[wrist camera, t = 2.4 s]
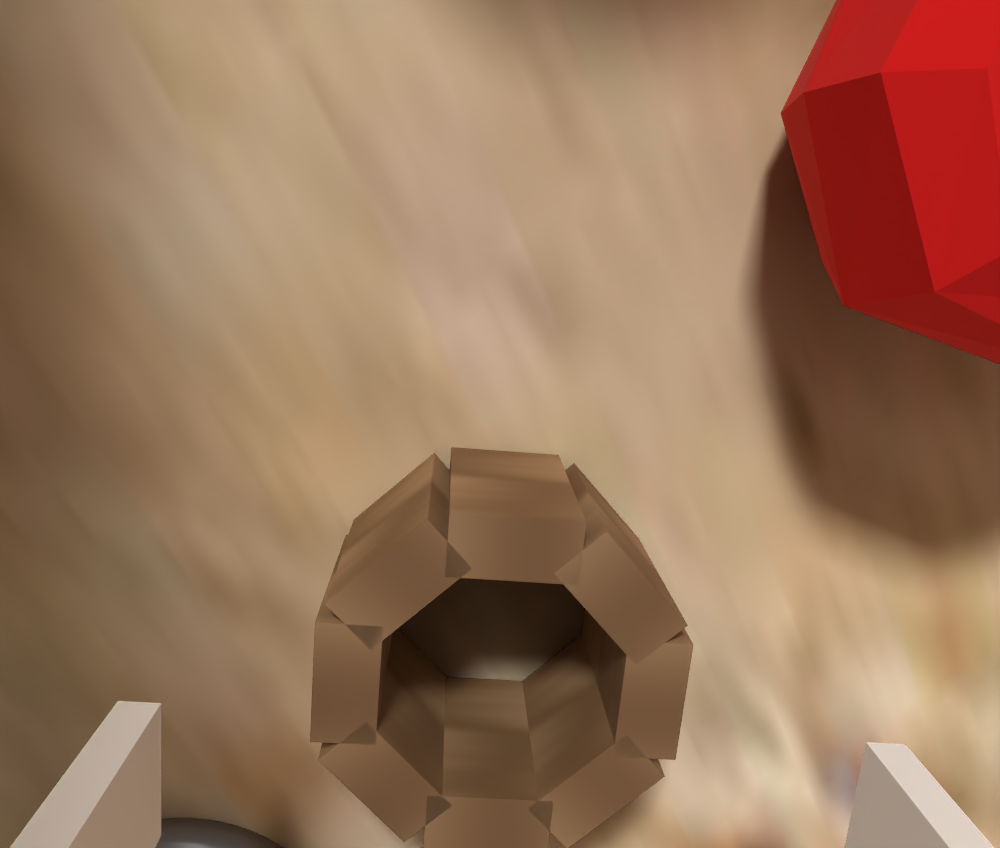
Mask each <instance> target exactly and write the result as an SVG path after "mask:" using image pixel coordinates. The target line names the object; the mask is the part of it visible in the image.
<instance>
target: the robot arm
mask: <svg viewBox="0 0 1000 848" xmlns="http://www.w3.org/2000/svg"><path fill="white" fill-rule="evenodd" d="M160 837H161V703H149V702H131V701H117V703H116V704H115V705H114V707H113V708H112V710H111V711H110V712H109V714H108V715H107V716H106V718H105V719H104V720H103V722H102V723H101V724H100V726H99V727H98V729H97V730H96V731H95V733H94V734H93V735H92V737H91V738H90V739H89V741H88V742H87V743H86V745H85V746H84V748H83V749H82V750H81V752H80V753H79V754H78V756H77V757H76V758H75V760H74V761H73V762H72V764H71V765H70V766H69V768H68V769H67V771H66V772H65V773H64V775H63V776H62V777H61V779H60V780H59V781H58V783H57V784H56V785H55V787H54V788H53V790H52V791H51V792H50V794H49V795H48V796H47V798H46V799H45V800H44V802H43V803H42V804H41V806H40V807H39V809H38V810H37V811H36V813H35V814H34V815H33V817H32V818H31V819H30V821H29V822H28V823H27V825H26V826H25V828H24V829H23V830H22V832H21V833H20V834H19V836H18V837H17V838H16V840H15V841H14V842H13V844H12V845H11V847H10V848H155V847H156V845H157V843H158V841H159V839H160ZM845 848H994V847H993V846H992V845H991V844H990V842H989V841H988V840H987V839H986V838H985V837H984V835H983V834H982V833H981V832H980V831H979V830H978V828H977V827H976V826H975V825H974V824H973V823H972V821H971V820H970V819H969V818H968V817H967V816H966V815H965V813H964V812H963V811H962V810H961V809H960V808H959V806H958V805H957V804H956V803H955V802H954V801H953V799H952V798H951V797H950V796H949V795H948V794H947V792H946V791H945V790H944V789H943V788H942V787H941V785H940V784H939V783H938V782H937V781H936V780H935V779H934V777H933V776H932V775H931V774H930V773H929V772H928V770H927V769H926V768H925V767H924V766H923V765H922V763H921V762H920V761H919V760H918V759H917V758H916V756H915V755H914V754H913V753H912V752H911V751H910V749H909V748H908V747H907V746H906V745H905V744H890V743H872V742H866V745H865V750H864V755H863V760H862V765H861V770H860V774H859V779H858V784H857V789H856V794H855V799H854V804H853V809H852V814H851V819H850V824H849V828H848V833H847V838H846V843H845Z"/></svg>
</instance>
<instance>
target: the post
mask: <svg viewBox="0 0 1000 848" xmlns="http://www.w3.org/2000/svg"><path fill="white" fill-rule="evenodd" d="M155 848H283V847H281V846H280V845H278V844H276V843H275V842H273V841H271V840H270V839H268V838H265V837H263V836H261V835H259V834H257V833H255V832H252V831H250V830H247V829H244V828H241V827H238V826H235V825H231V824H227V823H222V822H217V821H212V820H203V819H193V818H172V819H162V820H161V837H160V839H159V841H158V843H157V845H156V847H155Z"/></svg>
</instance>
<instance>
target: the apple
mask: <svg viewBox="0 0 1000 848" xmlns="http://www.w3.org/2000/svg"><path fill="white" fill-rule="evenodd" d="M781 116H782V119H783V123H784V127H785V130H786V134H787V137H788V141H789V145H790V148H791V152H792V155H793V159H794V163H795V166H796V170H797V174H798V177H799V181H800V184H801V188H802V192H803V195H804V199H805V202H806V206H807V210H808V213H809V217H810V220H811V224H812V228H813V231H814V235H815V239H816V242H817V246H818V249H819V253H820V257H821V260H822V262H823V264H824V266H825V268H826V271H827V273H828V275H829V277H830V279H831V281H832V283H833V285H834V287H835V289H836V291H837V294H838V296H839V298H840V300H841V302H842V304H843V306H846V307H848V308H851V309H854V310H856V311H859V312H862V313H864V314H867V315H870V316H872V317H875V318H878V319H880V320H883V321H886V322H888V323H891V324H894V325H896V326H899V327H902V328H904V329H907V330H910V331H912V332H915V333H918V334H920V335H923V336H926V337H929V338H931V339H934V340H937V341H939V342H942V343H945V344H947V345H950V346H953V347H955V348H958V349H961V350H963V351H966V352H969V353H971V354H974V355H977V356H979V357H982V358H985V359H987V360H990V361H993V362H995V363H998V364H1000V0H836V2H835V4H834V6H833V8H832V10H831V13H830V15H829V17H828V19H827V21H826V23H825V25H824V27H823V29H822V31H821V33H820V35H819V37H818V39H817V41H816V43H815V45H814V47H813V49H812V51H811V53H810V55H809V57H808V59H807V61H806V63H805V65H804V67H803V69H802V71H801V73H800V75H799V77H798V79H797V81H796V83H795V85H794V87H793V89H792V91H791V93H790V95H789V97H788V100H787V102H786V104H785V106H784V108H783V110H782V112H781Z"/></svg>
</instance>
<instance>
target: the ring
mask: <svg viewBox="0 0 1000 848" xmlns="http://www.w3.org/2000/svg"><path fill="white" fill-rule="evenodd" d="M460 578H471V579H487V580H503V581H519V582H535V583H551V584H564V586H565V587H566V588H567V589H568V590H569V591H570V592H571V593H572V594H573V596H574V597H575V598H576V599H577V600H578V601H579V602H580V603H581V604H582V606H583V607H584V608H585V617H584V625H583V633H582V635H581V636H580V637H578V638H577V639H576V640H575V641H573V642H572V643H571V644H569V645H568V646H567V647H566V648H564V649H563V650H562V651H560V652H559V653H558V654H557V655H555V656H554V657H553V658H551V659H550V660H549V661H548V662H546V663H545V664H544V665H542V666H541V667H540V668H539V669H537V670H536V671H535V672H533V673H532V674H531V675H530V676H528V677H527V678H526V679H524V680H523V681H509V680H490V679H472V678H454V677H445V676H444V675H443V674H442V673H441V672H440V671H439V670H438V669H437V668H436V667H435V666H434V665H433V664H432V663H431V661H430V660H429V659H428V658H427V657H426V656H425V655H424V654H423V653H422V652H421V651H420V650H419V649H418V648H417V647H416V646H415V645H414V644H413V643H412V642H411V641H410V640H409V639H408V638H407V637H406V636H405V635H404V634H403V633H402V632H401V631H400V630H399V629H398V628H399V627H400V626H401V625H403V624H404V623H405V622H406V621H408V620H409V619H410V618H411V617H413V616H414V615H415V614H416V613H417V612H419V611H420V610H421V609H422V608H424V607H425V606H426V605H427V604H429V603H430V602H431V601H432V600H434V599H435V598H436V597H437V596H439V595H440V594H441V593H442V592H444V591H445V590H446V589H447V588H449V587H450V586H451V585H452V584H454V583H455V582H456V581H457V580H459V579H460ZM686 626H688V625H687V624H686V622H685V620H684V618H683V616H682V615H681V613H680V611H679V609H678V608H677V606H676V604H675V602H674V600H673V599H672V597H671V595H670V593H669V592H668V590H667V588H666V586H665V584H664V583H663V581H662V579H661V577H660V576H659V574H658V572H657V570H656V568H655V567H654V565H653V563H652V561H651V560H650V558H649V556H648V554H647V552H646V551H645V549H644V547H643V545H642V544H641V542H640V540H639V538H638V537H637V536H636V535H635V534H634V533H633V531H632V530H631V529H630V528H629V527H628V526H627V524H626V523H625V522H624V521H623V520H622V519H621V517H620V516H619V515H618V514H617V513H616V512H615V510H614V509H613V508H612V507H611V506H610V505H609V503H608V502H607V501H606V500H605V499H604V498H603V496H602V495H601V494H600V493H599V492H598V491H597V489H596V488H595V487H594V486H593V485H592V484H591V482H590V481H589V480H588V479H587V478H586V477H585V475H584V474H583V473H582V472H581V471H580V470H579V468H578V467H577V466H576V465H575V464H573V465H571V466H570V467H569V468H568V469H566V470H564V467H563V465H562V462H561V460H560V458H559V455H548V454H534V453H520V452H507V451H493V450H479V449H465V448H451V461H450V470H449V469H448V468H447V467H446V466H445V464H444V463H443V462H442V461H441V460H440V459H439V458H438V457H437V456H436V454H435V453H434V454H433V455H431V456H430V457H429V458H428V459H427V460H425V461H424V462H423V463H422V464H421V465H419V466H418V467H417V468H416V469H415V470H413V471H412V472H411V473H410V474H409V475H407V476H406V477H405V478H404V479H403V480H401V481H400V482H399V483H398V484H397V485H395V486H394V487H393V488H392V489H391V490H389V491H388V492H387V493H386V494H384V495H383V496H382V497H381V498H380V499H378V500H377V501H376V502H375V503H374V504H372V505H371V506H370V507H369V508H368V509H366V510H365V511H364V512H363V513H362V514H360V515H359V516H358V517H357V518H356V519H354V521H353V524H352V527H351V530H350V533H349V535H346V536H345V539H344V542H343V545H342V548H341V551H340V553H339V556H338V559H337V562H336V565H335V568H334V570H333V573H332V576H331V579H330V582H329V584H328V587H327V590H326V593H325V596H324V599H323V601H322V604H321V607H320V610H319V613H318V616H317V618H316V621H315V634H314V659H313V683H312V707H311V732H310V742H322V747H321V750H320V754H319V758H318V761H319V762H321V763H322V764H323V765H324V766H325V767H326V768H327V769H328V770H329V771H330V772H331V773H332V774H333V775H334V776H335V777H336V778H337V779H338V780H339V781H340V782H342V783H343V784H344V785H345V786H346V787H347V788H348V789H349V790H350V791H351V792H352V793H353V794H354V795H355V796H356V797H357V798H358V799H359V800H360V801H361V802H363V803H364V804H365V805H366V806H367V807H368V808H369V809H370V810H371V811H372V812H373V813H374V814H375V815H376V816H377V817H378V818H379V819H380V820H381V821H382V822H384V823H385V824H386V825H387V826H388V827H389V828H390V829H391V830H392V831H393V832H394V833H395V834H396V835H397V836H398V837H399V838H400V839H401V840H402V841H403V842H405V841H406V840H408V839H409V838H410V837H412V836H413V835H414V834H415V833H417V832H418V831H419V830H421V829H422V828H423V827H424V843H423V848H548V843H549V834H550V832H551V833H552V834H553V835H554V836H555V837H556V838H557V839H558V840H559V841H560V842H561V843H562V844H563V845H564V846H565V847H566V848H569V847H570V846H571V845H573V844H574V843H575V842H577V841H578V840H580V839H581V838H582V837H584V836H585V835H586V834H588V833H589V832H590V831H592V830H593V829H594V828H596V827H597V826H598V825H600V824H601V823H602V822H604V821H605V820H607V819H608V818H609V817H611V816H612V815H613V814H615V813H616V812H617V811H619V810H620V809H621V808H623V807H624V806H625V805H627V804H628V803H629V802H631V801H632V800H634V799H635V798H636V797H638V796H639V795H640V794H642V793H643V792H644V791H646V790H647V789H648V788H650V787H651V786H652V785H654V784H655V783H656V782H658V781H659V780H661V779H662V778H663V777H665V776H664V774H663V771H662V768H661V765H660V763H659V760H658V759H671V760H675V759H676V753H677V746H678V740H679V733H680V727H681V721H682V714H683V708H684V701H685V695H686V688H687V682H688V675H689V669H690V663H691V656H692V650H693V643H692V641H691V640H690V638H689V636H688V634H687V632H686V631H685V629H684V628H685V627H686Z"/></svg>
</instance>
